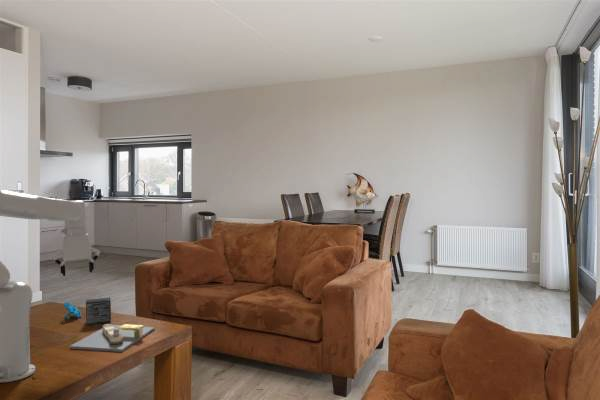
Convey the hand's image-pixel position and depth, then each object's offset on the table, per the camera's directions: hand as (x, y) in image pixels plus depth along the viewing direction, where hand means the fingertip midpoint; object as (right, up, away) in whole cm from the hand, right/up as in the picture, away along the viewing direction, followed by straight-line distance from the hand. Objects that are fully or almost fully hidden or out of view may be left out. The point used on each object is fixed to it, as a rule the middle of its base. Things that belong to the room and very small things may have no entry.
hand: (77, 273), depth 172 cm
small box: (-5, -28, +28) cm, 40 cm away
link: (+12, -27, +5) cm, 30 cm away
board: (+12, -28, +7) cm, 32 cm away
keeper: (+19, -27, +7) cm, 34 cm away
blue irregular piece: (-20, -28, +35) cm, 49 cm away
